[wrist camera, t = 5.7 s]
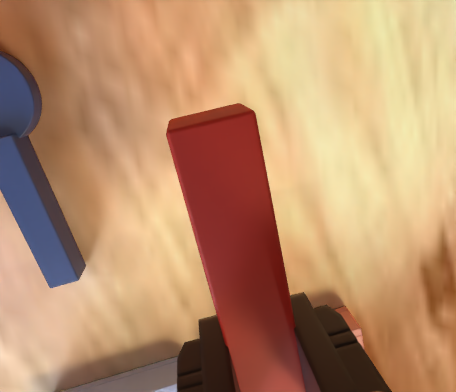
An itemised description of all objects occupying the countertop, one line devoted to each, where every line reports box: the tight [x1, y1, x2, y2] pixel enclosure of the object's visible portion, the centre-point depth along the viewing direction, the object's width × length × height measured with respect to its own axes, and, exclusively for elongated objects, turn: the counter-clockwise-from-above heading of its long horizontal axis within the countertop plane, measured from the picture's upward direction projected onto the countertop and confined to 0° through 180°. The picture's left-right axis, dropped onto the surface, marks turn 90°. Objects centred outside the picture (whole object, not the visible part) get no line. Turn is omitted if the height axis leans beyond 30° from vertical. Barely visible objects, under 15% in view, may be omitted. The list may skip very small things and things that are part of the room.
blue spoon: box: [0, 51, 86, 288], centre depth 20 cm, size 14×5×2 cm, turn 14°
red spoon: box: [166, 103, 306, 392], centre depth 10 cm, size 14×5×2 cm, turn 12°
